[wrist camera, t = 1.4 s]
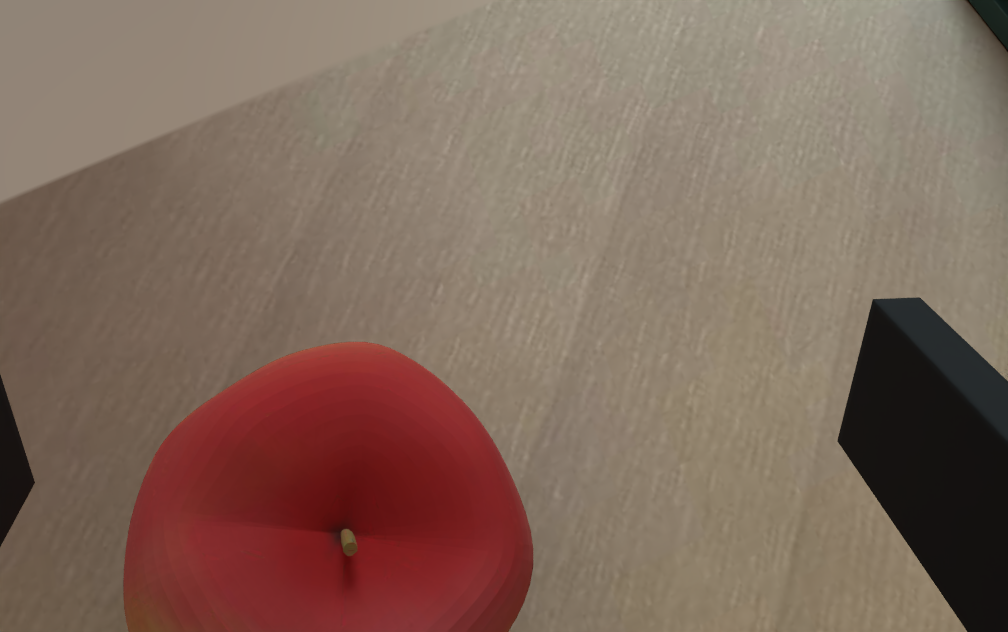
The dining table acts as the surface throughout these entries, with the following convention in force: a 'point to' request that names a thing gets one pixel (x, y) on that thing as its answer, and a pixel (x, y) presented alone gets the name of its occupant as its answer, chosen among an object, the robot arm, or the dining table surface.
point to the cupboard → (994, 16)
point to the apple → (329, 507)
